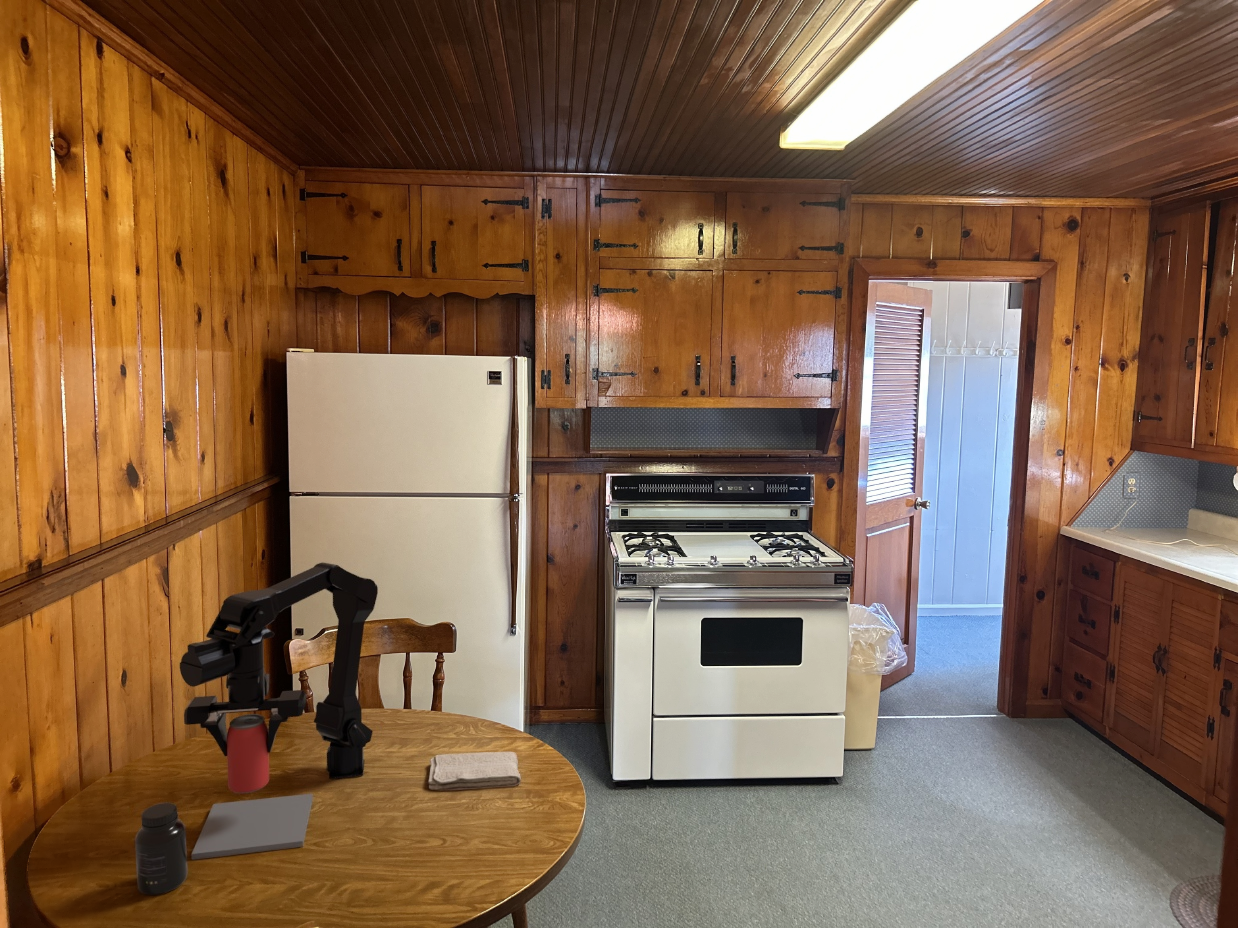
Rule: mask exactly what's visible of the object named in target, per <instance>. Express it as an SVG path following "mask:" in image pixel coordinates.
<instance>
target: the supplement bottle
mask: <svg viewBox="0 0 1238 928" xmlns="http://www.w3.org/2000/svg"><path fill="white" fill-rule="evenodd" d="M140 818H141V823H140V824H141V828H139V830H138V831H137V833H136V834H135V837H134V843H135V844H134V845H135V848H134V849H135V861H136V865H135V866H136V879H137V880H136V881H137V882H136V883H137V889H138V891H139V892H141V894H144V895H147V896H158V895H162V894H163V895H164V894H167V893H169V892H171V891H173V890H175V889H177V888H179V887H180V886H181V885H182V884H183V883H184V882H185V881H186V879H187V876H188V856H187V855H188V853H187V852H188V851H187V850H188V849H187V832H186V825H185V823H184V822H183V821H182V820H181V819H179V813H178V807H177V805H176V804H175V803H173V802H161V803H157V804H154V805H150V806H149V807H147V808H145V809H144V810H143V811H142V813H141V817H140Z"/></svg>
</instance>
